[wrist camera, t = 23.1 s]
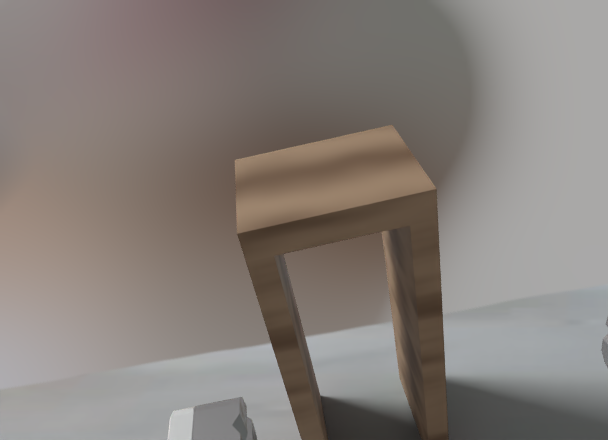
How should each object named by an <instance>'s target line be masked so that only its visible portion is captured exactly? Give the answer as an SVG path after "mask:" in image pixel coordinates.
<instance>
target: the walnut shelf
mask: <svg viewBox="0 0 608 440" xmlns="http://www.w3.org/2000/svg"><path fill="white" fill-rule="evenodd" d="M235 180H236V181H235V182H236V212H237V213H236V214H237V235H238V238H239V241H240V244H241V248H242V251H243V254H244V257H245V260H246V264H247V267H248V270H249V273H250V276H251V279H252V282H253V286H254V289H255V292H256V295H257V299H258V302H259V305H260V308H261V311H262V315H263V318H264V321H265V324H266V327H267V331H268V334H269V337H270V340H271V343H272V347H273V350H274V353H275V356H276V359H277V362H278V366H279V369H280V372H281V375H282V378H283V382H284V385H285V388H286V391H287V394H288V398H289V401H290V404H291V407H292V410H293V413H294V417H295V420H296V423H297V426H298V429H299V433H300V436H301V439H302V440H328V435H327V430H326V425H325V419H324V414H323V408H322V403H321V397H320V393H319V389H318V385H317V381H316V378H315V374H314V370H313V366H312V362H311V358H310V354H309V351H308V347H307V343H306V339H305V335H304V331H303V328H302V324H301V320H300V316H299V312H298V308H297V304H296V301H295V297H294V293H293V289H292V286H291V281H290V278H289V274H288V270H287V266H286V262H285V258H284V254H285V253H290V252H294V251H299V250H303V249H307V248H312V247H317V246H321V245H325V244H330V243H334V242H339V241H343V240H348V239H352V238H356V237H361V236H365V235H370V234H374V233H379V232H382V237H383V246H384V253H385V262H386V269H387V278H388V287H389V294H390V303H391V311H392V318H393V327H394V335H395V343H396V352H397V360H398V368H399V376H400V380H401V383H402V385H403V388H404V391H405V394H406V397H407V400H408V402H409V405H410V408H411V411H412V414H413V417H414V419H415V422H416V425H417V428H418V431H419V434H420V436H421V439H422V440H449V438H448V417H447V397H446V376H445V355H444V335H443V314H442V293H441V273H440V252H439V232H438V213H437V212H438V211H437V190H436V188H435V186H434V185H433V183H432V182H431V180H430V179H429V177H428V176H427V175H426V173H425V172H424V170H423V169H422V167H421V166H420V164H419V163H418V162H417V160H416V159H415V157H414V156H413V154H412V153H411V151H410V150H409V149H408V147H407V146H406V144H405V143H404V141H403V140H402V138H401V137H400V135H399V134H398V133H397V131H396V130H395V128H394V127H393V125H389V126H384V127H380V128H376V129H371V130H367V131H362V132H358V133H353V134H349V135H344V136H340V137H335V138H331V139H326V140H322V141H318V142H313V143H309V144H304V145H300V146H295V147H291V148H286V149H282V150H277V151H273V152H269V153H264V154H260V155H255V156H251V157H246V158H242V159H237V160H235Z"/></svg>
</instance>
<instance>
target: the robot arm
mask: <svg viewBox="0 0 608 440" xmlns="http://www.w3.org/2000/svg"><path fill="white" fill-rule="evenodd" d="M606 325H607V326H608V317H607V322H606ZM602 354H603V358H604V362H605V364H606V365H607V367H608V334H607V335H606V336H605V337H604V338H603V342H602ZM168 440H257V436H256V432H255V428H254V425H253V422H252V420H251V419H250V418H248V417H247V409H246V404H245V402H244V400H243V398H242V397H239V398H234V399H229V400H224V401H219V402H214V403H209V404H204V405H199V406H194V407H190V408H185V409H181V410H176V411H173V412H172V415H171V417H170V422H169V432H168Z"/></svg>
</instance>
